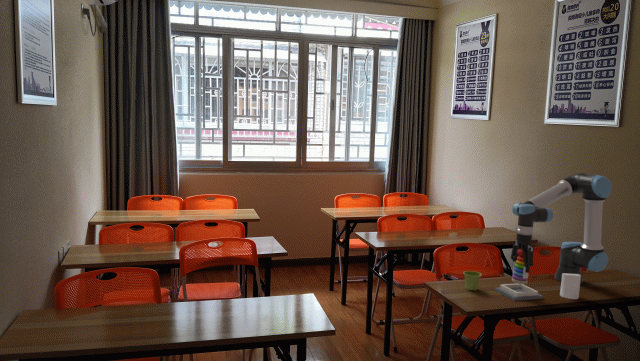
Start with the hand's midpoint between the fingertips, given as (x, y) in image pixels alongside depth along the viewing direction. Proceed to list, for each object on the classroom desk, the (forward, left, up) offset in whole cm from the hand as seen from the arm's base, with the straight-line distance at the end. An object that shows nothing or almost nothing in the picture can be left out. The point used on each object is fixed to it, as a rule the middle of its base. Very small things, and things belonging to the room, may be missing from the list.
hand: (520, 275), depth 272 cm
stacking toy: (0, 0, -4) cm, 4 cm away
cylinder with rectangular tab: (-27, +7, -11) cm, 30 cm away
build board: (0, 0, -10) cm, 10 cm away
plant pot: (+21, -12, -10) cm, 26 cm away
